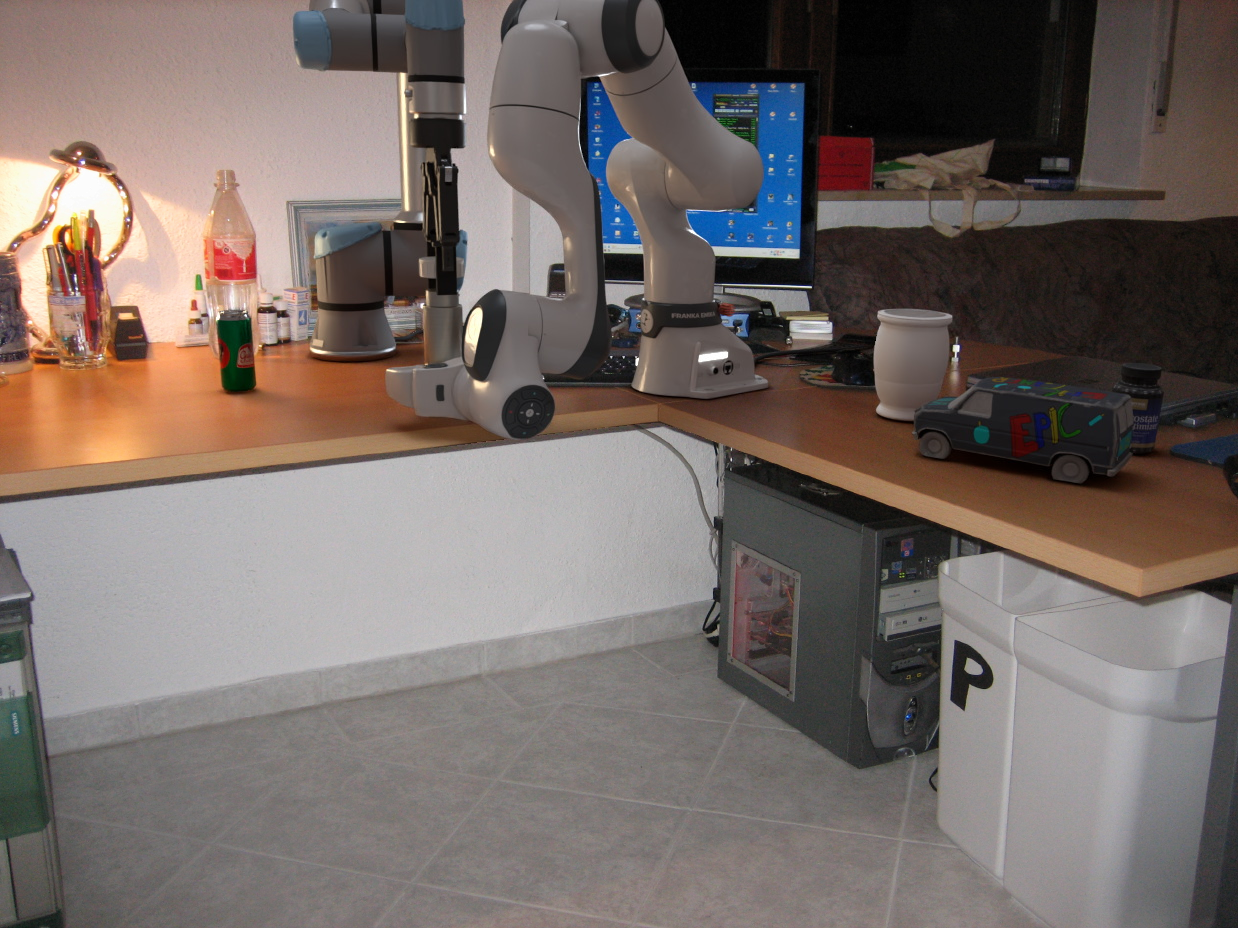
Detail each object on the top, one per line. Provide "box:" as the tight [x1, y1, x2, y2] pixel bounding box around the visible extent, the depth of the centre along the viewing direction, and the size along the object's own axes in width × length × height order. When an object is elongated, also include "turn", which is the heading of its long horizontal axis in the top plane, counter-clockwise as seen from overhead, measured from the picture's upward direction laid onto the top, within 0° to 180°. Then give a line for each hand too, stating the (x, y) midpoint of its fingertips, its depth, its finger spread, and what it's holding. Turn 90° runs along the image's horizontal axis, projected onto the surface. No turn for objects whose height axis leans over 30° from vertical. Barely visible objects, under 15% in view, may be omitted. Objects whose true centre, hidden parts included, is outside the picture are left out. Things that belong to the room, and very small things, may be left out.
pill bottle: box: [1111, 362, 1165, 455], centre depth 139 cm, size 6×6×11 cm
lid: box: [419, 257, 466, 278], centre depth 148 cm, size 6×6×2 cm
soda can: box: [215, 309, 257, 393], centre depth 163 cm, size 5×5×12 cm
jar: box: [873, 308, 953, 422], centre depth 154 cm, size 11×10×15 cm
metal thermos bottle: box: [422, 288, 464, 365], centre depth 151 cm, size 6×6×18 cm
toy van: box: [911, 376, 1135, 484], centre depth 132 cm, size 11×25×10 cm, turn 54°
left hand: (442, 291), depth 149 cm, fingers closed on lid, 6 cm apart
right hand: (441, 368), depth 153 cm, fingers closed on metal thermos bottle, 5 cm apart
